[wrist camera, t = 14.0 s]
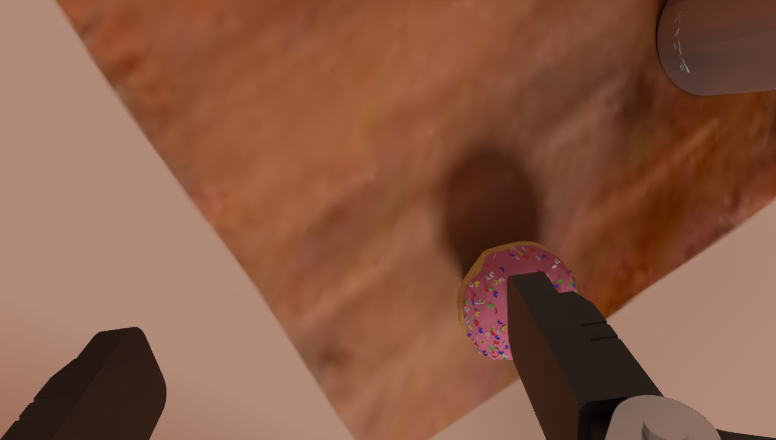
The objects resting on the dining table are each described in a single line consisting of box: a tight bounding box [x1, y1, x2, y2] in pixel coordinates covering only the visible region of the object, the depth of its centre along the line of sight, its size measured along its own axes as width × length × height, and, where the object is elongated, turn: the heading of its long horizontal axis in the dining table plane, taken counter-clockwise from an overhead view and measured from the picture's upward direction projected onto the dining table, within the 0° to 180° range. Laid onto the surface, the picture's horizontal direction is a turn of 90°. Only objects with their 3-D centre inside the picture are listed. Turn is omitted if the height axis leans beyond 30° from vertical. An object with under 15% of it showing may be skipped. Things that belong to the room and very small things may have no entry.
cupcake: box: [457, 241, 577, 360], centre depth 32 cm, size 9×8×12 cm
